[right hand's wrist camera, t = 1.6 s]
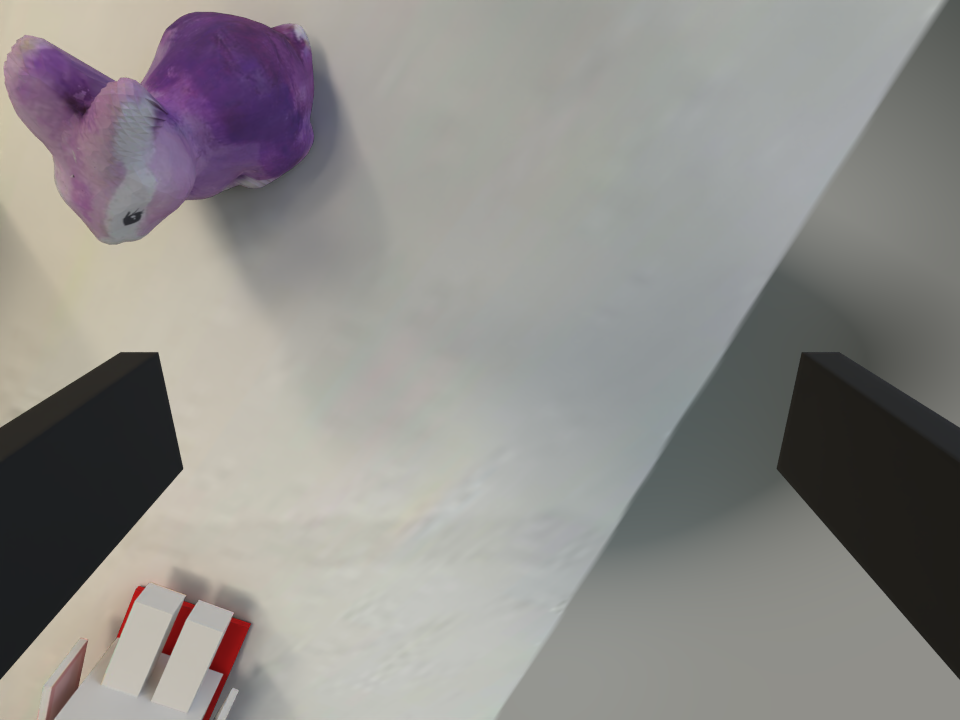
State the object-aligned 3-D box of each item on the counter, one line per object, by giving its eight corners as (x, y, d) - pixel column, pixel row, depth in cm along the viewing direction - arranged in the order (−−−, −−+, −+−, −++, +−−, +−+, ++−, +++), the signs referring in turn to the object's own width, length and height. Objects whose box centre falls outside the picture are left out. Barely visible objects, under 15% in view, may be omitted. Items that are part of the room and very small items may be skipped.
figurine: (179, 215, 36) (-13, 269, 22) (146, 23, 32) (-113, -59, 18) (334, 215, 36) (242, 270, 22) (319, 24, 32) (195, -57, 18)
